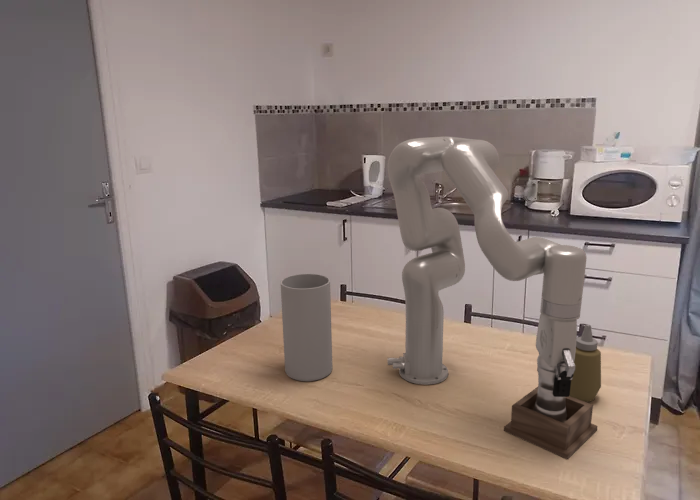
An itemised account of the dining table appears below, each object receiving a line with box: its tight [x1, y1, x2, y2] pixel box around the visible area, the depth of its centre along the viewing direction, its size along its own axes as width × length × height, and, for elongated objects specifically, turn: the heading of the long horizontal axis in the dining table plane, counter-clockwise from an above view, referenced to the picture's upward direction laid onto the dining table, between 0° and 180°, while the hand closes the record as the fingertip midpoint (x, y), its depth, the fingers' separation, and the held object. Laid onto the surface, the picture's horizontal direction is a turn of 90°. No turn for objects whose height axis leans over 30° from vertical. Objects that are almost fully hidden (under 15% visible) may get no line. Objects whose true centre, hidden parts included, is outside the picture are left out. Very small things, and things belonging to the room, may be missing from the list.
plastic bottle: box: [533, 353, 567, 423], centre depth 115 cm, size 6×7×20 cm
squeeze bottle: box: [569, 324, 602, 403], centre depth 128 cm, size 8×8×18 cm
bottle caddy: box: [503, 386, 598, 460], centre depth 116 cm, size 14×14×6 cm
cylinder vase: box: [280, 273, 333, 382], centre depth 142 cm, size 12×12×25 cm
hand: (552, 383), depth 115 cm, fingers open, 9 cm apart
